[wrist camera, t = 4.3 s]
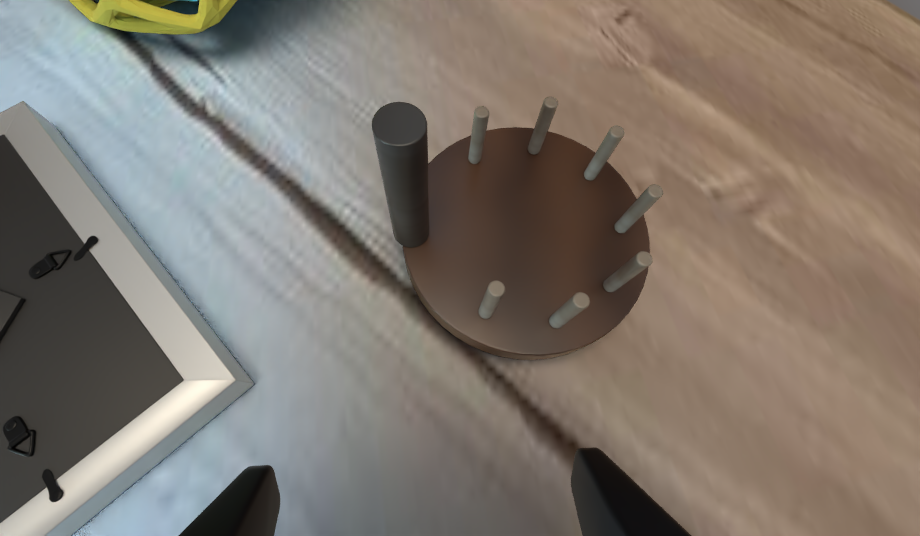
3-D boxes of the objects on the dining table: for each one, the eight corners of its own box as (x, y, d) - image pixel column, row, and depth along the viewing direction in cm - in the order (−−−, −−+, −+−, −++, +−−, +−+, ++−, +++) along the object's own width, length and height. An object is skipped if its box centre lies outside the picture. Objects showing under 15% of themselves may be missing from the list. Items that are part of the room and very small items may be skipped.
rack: (615, 142, 26) (713, -10, 17) (659, 354, 22) (826, 303, 12) (396, 143, 25) (375, -18, 16) (395, 365, 21) (366, 319, 11)
